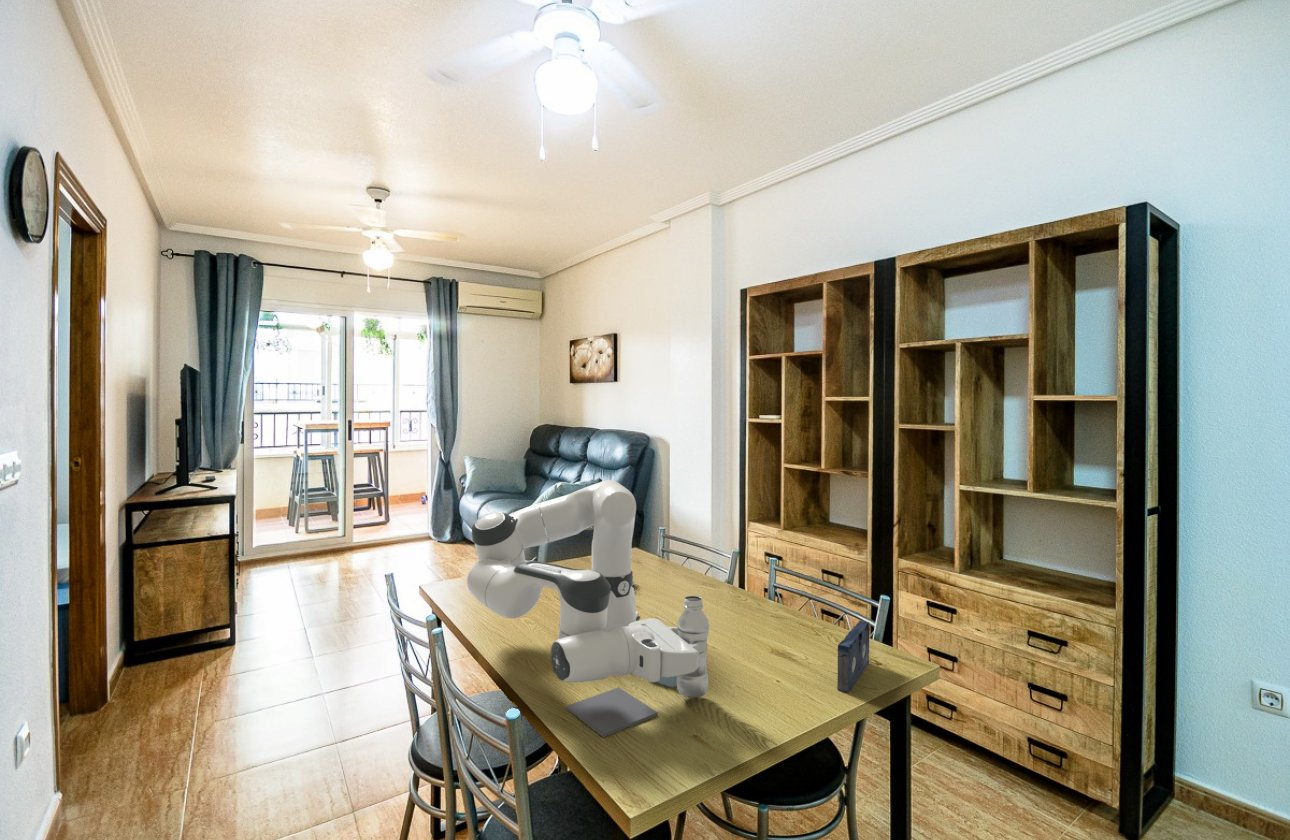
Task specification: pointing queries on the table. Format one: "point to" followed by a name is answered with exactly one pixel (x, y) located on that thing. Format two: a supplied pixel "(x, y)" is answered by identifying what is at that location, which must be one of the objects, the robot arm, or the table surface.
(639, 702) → the charcoal mat
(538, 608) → the table surface
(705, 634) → the plastic bottle
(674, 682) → the letter block
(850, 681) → the vhs cassette tape
